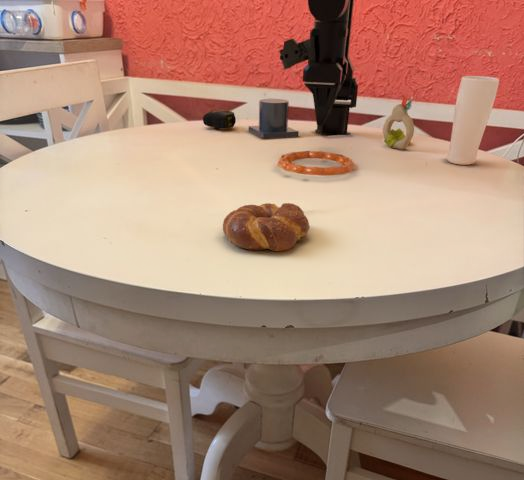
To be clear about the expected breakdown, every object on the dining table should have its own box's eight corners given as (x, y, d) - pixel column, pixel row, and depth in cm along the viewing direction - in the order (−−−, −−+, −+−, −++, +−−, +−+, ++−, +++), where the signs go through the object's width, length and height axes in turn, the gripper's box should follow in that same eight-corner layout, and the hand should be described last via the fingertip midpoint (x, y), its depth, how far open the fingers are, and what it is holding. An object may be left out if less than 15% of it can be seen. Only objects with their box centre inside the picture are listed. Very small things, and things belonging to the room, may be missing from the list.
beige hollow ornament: (428, 149, 110) (440, 90, 103) (399, 152, 106) (409, 92, 100) (405, 142, 115) (414, 86, 108) (377, 145, 112) (385, 87, 105)
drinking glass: (462, 157, 104) (482, 75, 96) (485, 165, 99) (508, 79, 90) (435, 159, 102) (453, 76, 93) (457, 167, 97) (478, 80, 88)
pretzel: (267, 215, 71) (268, 189, 69) (328, 236, 65) (331, 208, 63) (204, 236, 64) (202, 208, 62) (265, 262, 58) (266, 232, 56)
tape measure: (201, 128, 122) (201, 112, 120) (219, 124, 127) (219, 108, 125) (223, 132, 119) (223, 115, 117) (241, 128, 123) (240, 112, 121)
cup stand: (281, 129, 124) (283, 97, 120) (298, 136, 117) (300, 102, 113) (248, 131, 121) (248, 98, 117) (263, 139, 114) (264, 104, 110)
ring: (329, 158, 100) (330, 147, 99) (368, 176, 90) (369, 165, 89) (265, 163, 96) (266, 153, 94) (299, 183, 85) (299, 171, 84)
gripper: (292, 19, 93) (288, 110, 102) (274, 20, 78) (271, 127, 87) (352, 21, 92) (342, 114, 101) (345, 23, 77) (334, 132, 85)
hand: (322, 121), depth 93 cm, fingers open, 9 cm apart
